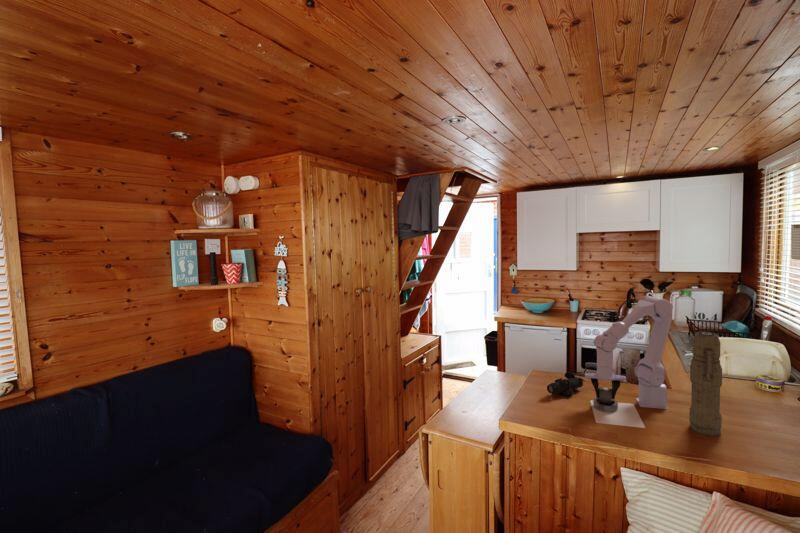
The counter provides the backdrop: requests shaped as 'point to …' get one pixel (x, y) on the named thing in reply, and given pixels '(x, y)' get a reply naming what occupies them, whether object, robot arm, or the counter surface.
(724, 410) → the counter surface
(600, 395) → the cap
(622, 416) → the mat
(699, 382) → the brown tall rounded block
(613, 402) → the grey bowl
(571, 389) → the night vision scope
